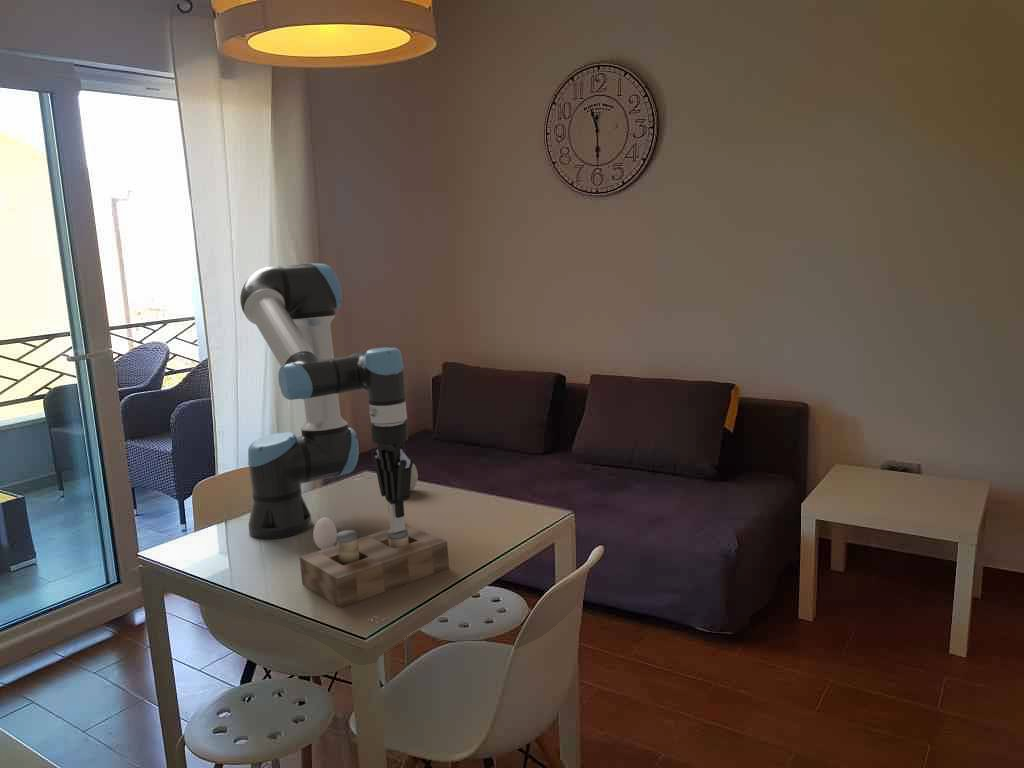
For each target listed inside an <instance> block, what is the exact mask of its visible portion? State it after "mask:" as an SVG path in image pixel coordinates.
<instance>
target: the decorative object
mask: <svg viewBox="0 0 1024 768" xmlns="http://www.w3.org/2000/svg"><path fill="white" fill-rule="evenodd" d="M418 480H419V475H418V469H417V467H416V465H415V464H414V463H413V465H412V468H411V483H410V492H411V491H413V490H414V489H415V487H416V486H417V485H418V484H417V483H418Z"/></svg>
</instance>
